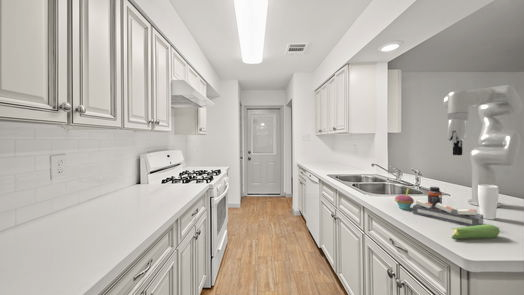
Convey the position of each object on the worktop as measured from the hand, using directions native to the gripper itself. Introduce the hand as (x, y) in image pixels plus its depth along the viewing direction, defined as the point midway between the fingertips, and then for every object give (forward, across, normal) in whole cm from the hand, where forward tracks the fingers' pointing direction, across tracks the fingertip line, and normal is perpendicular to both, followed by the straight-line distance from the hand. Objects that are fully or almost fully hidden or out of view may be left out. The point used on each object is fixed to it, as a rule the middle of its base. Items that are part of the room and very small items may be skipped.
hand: (457, 155), depth 109 cm
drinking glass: (+29, -4, +10) cm, 31 cm away
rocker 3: (+24, +13, +6) cm, 28 cm away
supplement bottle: (+29, -3, -10) cm, 31 cm away
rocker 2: (+24, +13, -2) cm, 27 cm away
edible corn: (+30, +27, +11) cm, 42 cm away
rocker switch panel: (+29, +11, -2) cm, 31 cm away
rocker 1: (+24, +13, -10) cm, 28 cm away
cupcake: (+29, +9, -20) cm, 37 cm away
